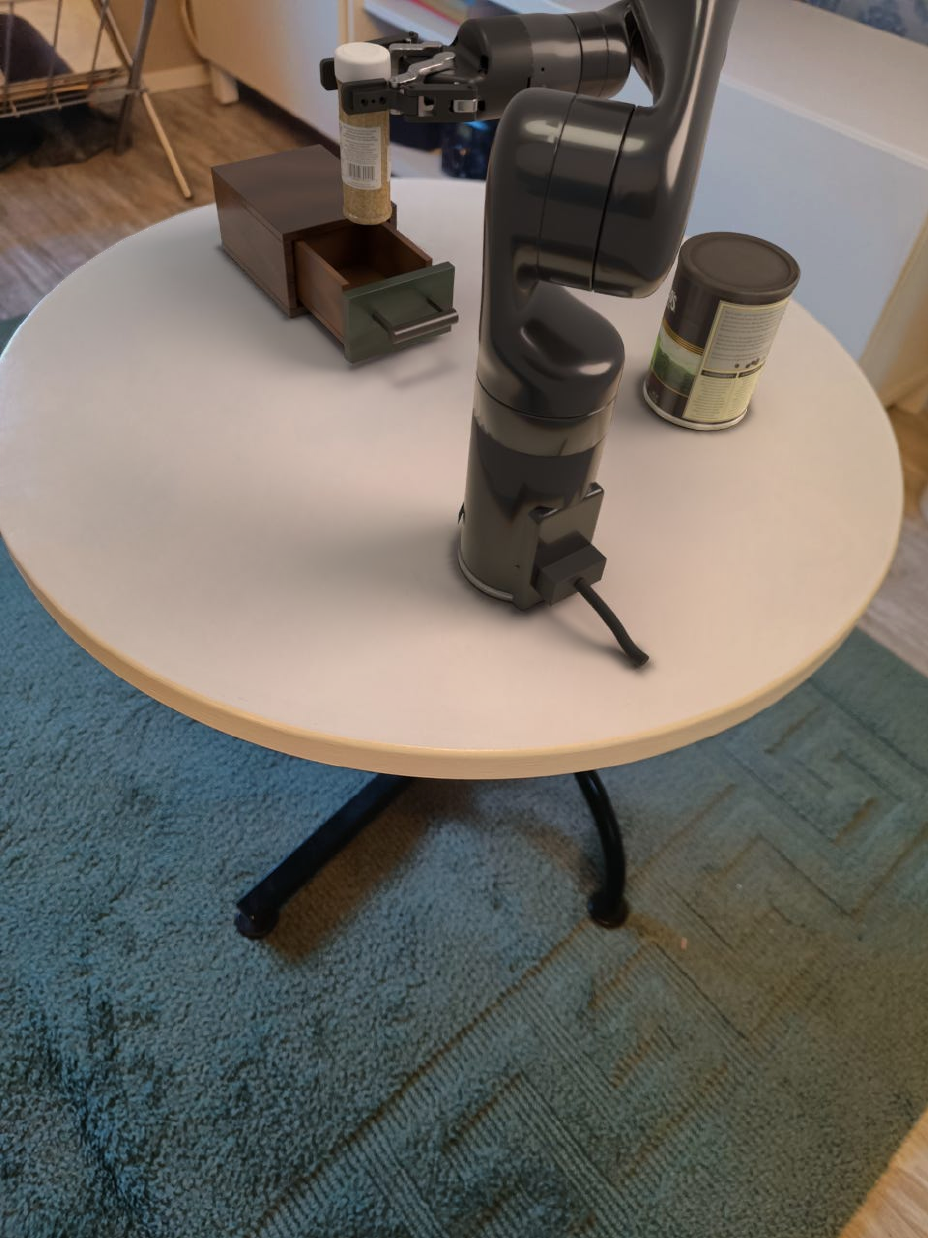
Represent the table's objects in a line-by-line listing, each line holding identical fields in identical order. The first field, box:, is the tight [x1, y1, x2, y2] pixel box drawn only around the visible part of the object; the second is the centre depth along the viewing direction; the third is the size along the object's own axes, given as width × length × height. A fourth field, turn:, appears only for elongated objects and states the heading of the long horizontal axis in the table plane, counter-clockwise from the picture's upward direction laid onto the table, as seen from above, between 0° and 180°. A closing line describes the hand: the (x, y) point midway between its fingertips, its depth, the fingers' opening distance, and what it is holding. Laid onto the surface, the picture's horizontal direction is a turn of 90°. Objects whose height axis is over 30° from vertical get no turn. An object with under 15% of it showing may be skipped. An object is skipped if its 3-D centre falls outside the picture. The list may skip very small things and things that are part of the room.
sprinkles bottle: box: [333, 41, 392, 225], centre depth 75 cm, size 5×5×14 cm
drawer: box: [291, 221, 460, 365], centre depth 85 cm, size 19×12×7 cm, turn 35°
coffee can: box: [642, 231, 802, 431], centre depth 79 cm, size 10×10×14 cm
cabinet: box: [210, 143, 398, 319], centre depth 91 cm, size 16×13×9 cm
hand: (332, 86), depth 71 cm, fingers closed on sprinkles bottle, 4 cm apart
